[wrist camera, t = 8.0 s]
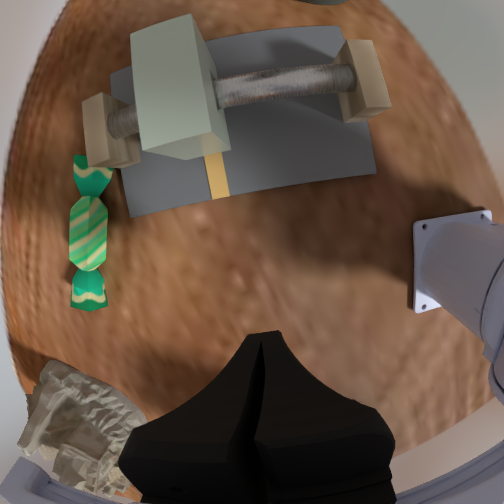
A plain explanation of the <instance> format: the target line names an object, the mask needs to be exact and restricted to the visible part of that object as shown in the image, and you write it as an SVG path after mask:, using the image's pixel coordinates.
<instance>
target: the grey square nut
mask: <svg viewBox="0 0 504 504" xmlns="http://www.w3.org/2000/svg"><path fill="white" fill-rule="evenodd" d="M130 42H131V58H132V71H133V82H134V92H135V101H136V109H137V117H138V125H139V132H140V138H141V145H142V151H147V152H151V153H156V154H161V155H165V156H169V157H174V158H178V159H182V160H189V159H193V158H197V157H201V156H206V155H210V154H215V153H219V152H224V151H229V150H231V145H230V140H229V135H228V130H227V125H226V119H225V114H224V109H219V110H217V107H216V101H215V96H214V90H213V85H212V81H213V80H217V79H218V77H217V72H216V67H215V63H214V61H213V59H212V57H211V55H210V52H209V50H208V48H207V46H206V44H205V41H204V39H203V37H202V35H201V33H200V31H199V29H198V26H197V24H196V22H195V20H194V18H193V16H192V14H187V15H183V16H180V17H177V18H173V19H170V20H167V21H164V22H161V23H158V24H155V25H152V26H149V27H147V28H144V29H141V30H139V31H136V32H134V33H131V34H130Z"/></svg>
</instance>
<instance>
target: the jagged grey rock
mask: <svg viewBox="0 0 504 504" xmlns="http://www.w3.org/2000/svg"><path fill="white" fill-rule="evenodd" d="M25 395H26V398H27V400H26V401H27V404H28V406H27V410H28V415H29V417H28V423H27V424H26V426H25V429H24V431H23V433H22V435H21V438H20V439H19V441H18V443H17V445H18V447H19V448H20V450H21V451H22V452H23V453H24V454H25V455H26V456H30V455H32V454H33V453H34V452H35V451H36V450H37V449H38V450H39V451H40V453H41V455H42V457H43V458H44V460H45V461H49V460H51V459H55V458H56V459H55V463H54V467H53V471H52V473H53V474H54V475H57V476H59V477H60V478H59V482H61V483H63V484H66V485H68V486H71V487H73V488H76V489H78V490H81V491H82V489H86V490H88V491H89V492H91V493H92V494H94V495H95V494H96V493H97V492H98V491H100V490H101V489H102V488H103V489H104V490H103V494H104V495H105V496H106V497H109V498H110V497H111V496H112V495H113V494H114V492H115V491H116V490H118V491H120V492H122V493H124V492H125V491H126V490H127V489H128V487H129V486H130V485H131V484H132V483H131V482H130V481H129V480H128V479H127V478H126V477H125V476H124V474H123V473H122V472H121V470H120V469H119V466H118V463H117V462H118V459H119V456H120V454H121V452H122V450H123V448H124V445H125V443H126V441H127V439H128V437H129V435H130V433H131V431H132V430H133V428H135V427H138V426H141V425H143V424H146V423H148V421H147V420H146V417H145V415H144V414H143V413H142V411H141V410H140V409H139V408H138V407H137V406H136V405H135V404H134V403H133V402H132V401H131V400H130V399H128V398H127V397H126V396H124V395H123V394H122V393H121V392H120V391H118V390H117V389H115V388H114V387H112V386H109V385H108V384H107V383H104V382H101V381H100V380H97V379H95V378H92V377H91V376H88V375H86V374H84V373H83V372H81V371H79V370H76V369H74V368H72V367H70V366H69V365H66V364H64V363H63V362H61V361H58V360H49V361H48V362H47V363H46V365H45V367H44V368H43V370H42V371H41V373H40V383H38V384H37V386H34V389H33V394H25Z"/></svg>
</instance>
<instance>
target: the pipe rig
mask: <svg viewBox="0 0 504 504" xmlns="http://www.w3.org/2000/svg"><path fill="white" fill-rule="evenodd" d="M205 44H206V46H207V48H208V50H209V52H210V55H211V57H212V59H213V61H214V63H215V67H216V72H217V77H218V79H217V80H213V81H212V85H213V90H214V96H215V101H216V107H217V110H219V109H224V114H225V119H226V125H227V130H228V135H229V140H230V145H231V150H229V151H224V152H219V153H215V154H210V155H206V156H201V157H197V158H193V159H189V160H182V159H178V158H174V157H169V156H165V155H161V154H156V153H151V152H147V151H142V145H141V138H140V132H139V125H138V117H137V109H136V101H135V92H134V82H133V71H132V65H130V66H128V67H125V68H123V69H121V70H118V71H116V72H114V73H111V74H110V85H111V96H110V95H108V94H106V93H104V92H101V93H99V94H97V95H94V96H92V97H90V98H88V99H86V100H84V101H82V114H83V127H84V137H85V145H86V153H87V161H88V167H108V168H121V174H122V179H123V185H124V190H125V195H126V200H127V205H128V210H129V214H130V218H134V217H138V216H142V215H146V214H150V213H154V212H158V211H163V210H167V209H171V208H176V207H180V206H184V205H189V204H194V203H198V202H203V201H208V200H213V199H218V198H223V197H228V196H233V195H238V194H243V193H248V192H254V191H259V190H265V189H271V188H277V187H283V186H289V185H295V184H302V183H308V182H315V181H322V180H329V179H336V178H344V177H352V176H360V175H369V174H377V171H376V164H375V158H374V153H373V147H372V142H371V137H370V132H369V127H368V122H367V120H368V119H370V118H372V117H374V116H376V115H378V114H380V113H381V112H383V111H385V110H387V109H389V108H391V107H392V106H391V102H390V98H389V95H388V91H387V87H386V84H385V80H384V77H383V73H382V70H381V67H380V64H379V61H378V58H377V55H376V52H375V49H374V46H373V43H372V41H371V40H348V39H346V41H345V40H344V37H343V35H342V32H341V29H340V26H308V27H292V28H281V29H272V30H264V31H256V32H250V33H244V34H238V35H233V36H228V37H223V38H218V39H213V40H209V41H205Z"/></svg>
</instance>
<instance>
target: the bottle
mask: <svg viewBox="0 0 504 504" xmlns="http://www.w3.org/2000/svg"><path fill="white" fill-rule="evenodd" d="M300 1H304V2H308V3H312V4H320V5H333V4H340V3H343V2H345V1H347V0H300Z"/></svg>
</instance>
